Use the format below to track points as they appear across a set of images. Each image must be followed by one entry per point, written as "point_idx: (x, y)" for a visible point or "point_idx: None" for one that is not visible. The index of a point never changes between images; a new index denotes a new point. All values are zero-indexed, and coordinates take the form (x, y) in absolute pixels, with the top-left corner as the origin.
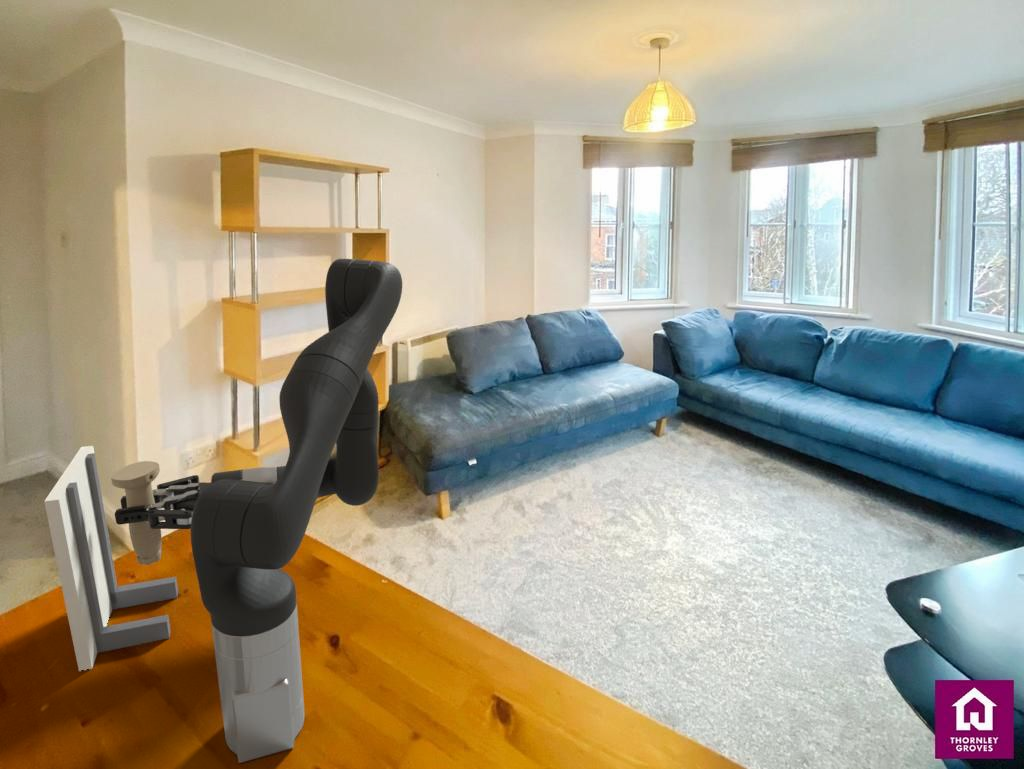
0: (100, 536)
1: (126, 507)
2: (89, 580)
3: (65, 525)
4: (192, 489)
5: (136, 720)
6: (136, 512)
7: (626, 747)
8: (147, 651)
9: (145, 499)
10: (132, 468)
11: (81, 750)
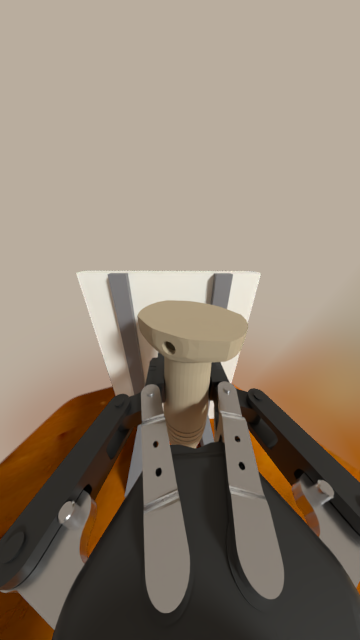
0: None
1: None
2: (131, 380)
3: (94, 311)
4: (233, 536)
5: (17, 488)
6: (149, 377)
7: None
8: (119, 474)
9: (168, 377)
10: (203, 311)
11: (32, 441)
